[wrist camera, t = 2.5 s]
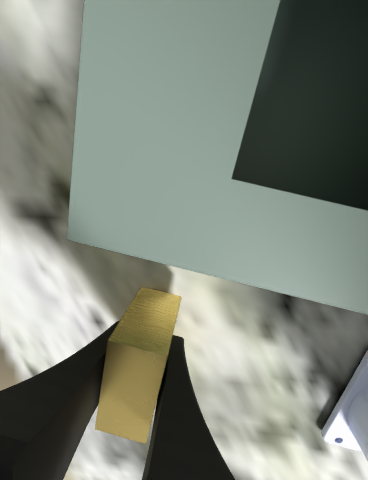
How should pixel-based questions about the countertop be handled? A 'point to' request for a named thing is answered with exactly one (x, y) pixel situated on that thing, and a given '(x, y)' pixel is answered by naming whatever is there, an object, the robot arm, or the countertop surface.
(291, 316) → the countertop surface
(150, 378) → the gold rectangular block
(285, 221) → the box
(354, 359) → the countertop surface
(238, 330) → the countertop surface
